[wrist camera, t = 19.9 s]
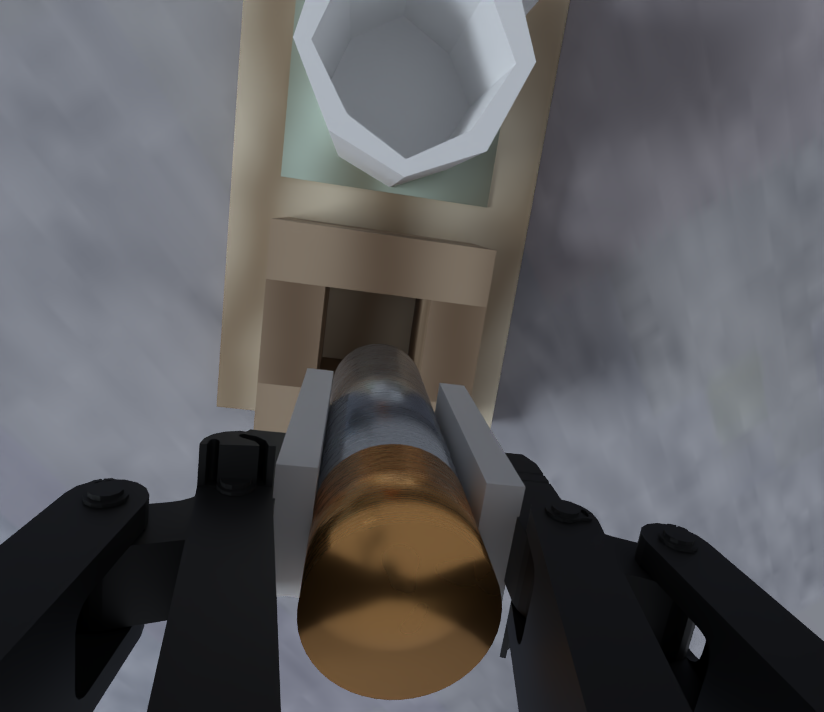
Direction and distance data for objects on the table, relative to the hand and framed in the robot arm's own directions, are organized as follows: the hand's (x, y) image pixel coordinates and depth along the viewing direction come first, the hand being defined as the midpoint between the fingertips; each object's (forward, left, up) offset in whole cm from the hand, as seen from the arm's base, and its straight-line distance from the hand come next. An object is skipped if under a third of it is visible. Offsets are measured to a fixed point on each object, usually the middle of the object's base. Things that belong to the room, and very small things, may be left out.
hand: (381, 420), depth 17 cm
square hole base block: (0, +7, -18) cm, 19 cm away
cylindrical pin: (0, 0, -4) cm, 4 cm away
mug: (+1, +13, -16) cm, 20 cm away
